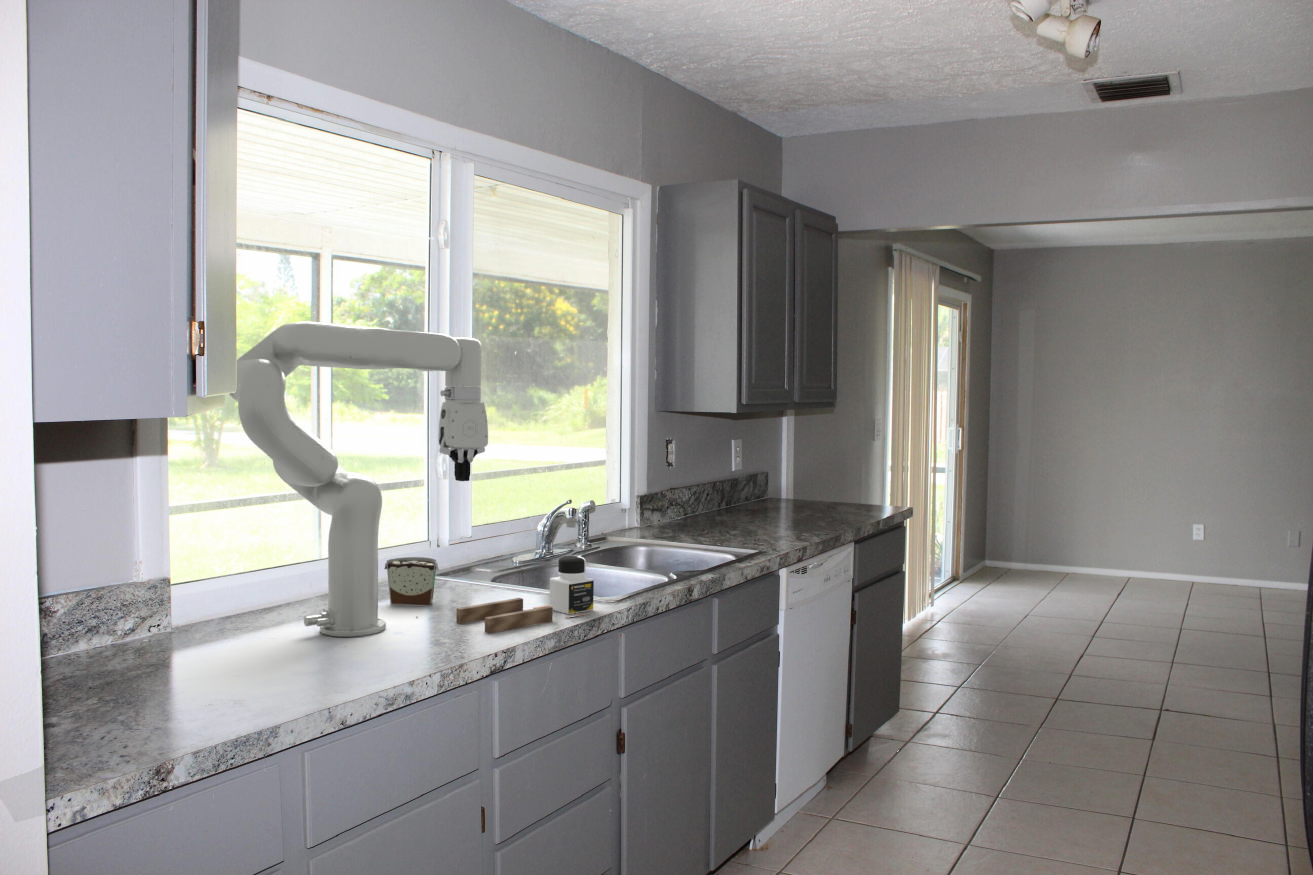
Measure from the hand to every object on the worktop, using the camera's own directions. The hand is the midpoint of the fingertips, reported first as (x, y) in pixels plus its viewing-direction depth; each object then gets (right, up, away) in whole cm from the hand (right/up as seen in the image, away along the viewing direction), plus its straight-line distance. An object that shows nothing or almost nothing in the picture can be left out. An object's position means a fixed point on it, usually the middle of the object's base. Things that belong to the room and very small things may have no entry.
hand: (462, 480), depth 205 cm
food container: (-13, -29, +12) cm, 33 cm away
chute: (+10, -30, -5) cm, 32 cm away
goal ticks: (+21, -29, +5) cm, 36 cm away
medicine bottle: (+23, -29, +7) cm, 38 cm away
